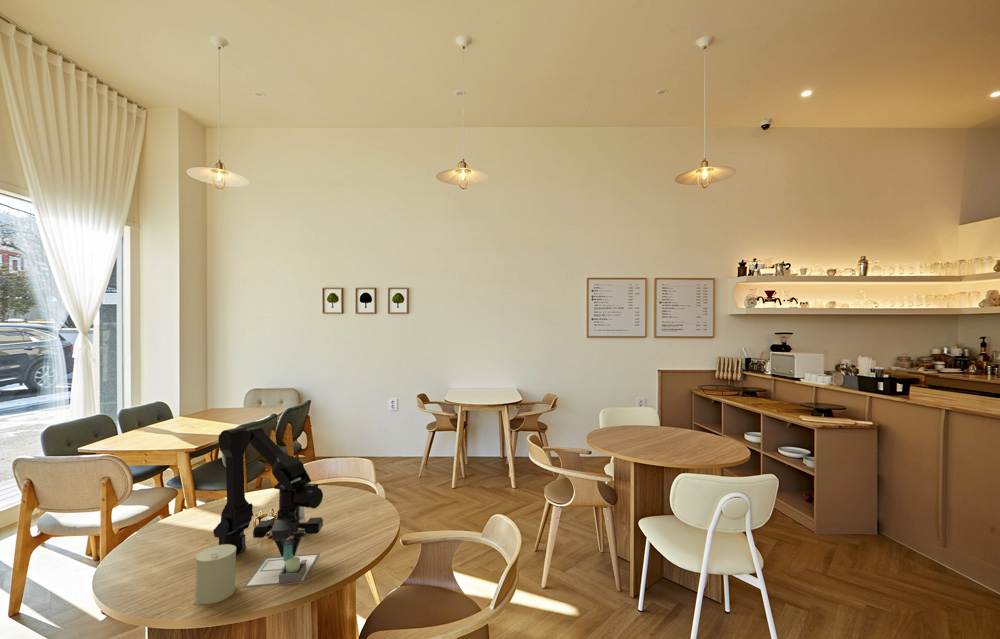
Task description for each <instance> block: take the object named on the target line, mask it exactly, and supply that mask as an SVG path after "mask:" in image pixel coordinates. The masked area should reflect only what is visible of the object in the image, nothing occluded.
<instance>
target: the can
mask: <svg viewBox="0 0 1000 639" xmlns="http://www.w3.org/2000/svg"><path fill="white" fill-rule="evenodd" d="M236 560H237V557H236V546H234V545H230V544H224V545H219V544H217V545H214V546H211V547H209V548H205V549H203V550H202V551H200V552H199V553H198V554H197V555H196V556H195V566H196V567H195V592H194V593H195V596H194V601H195V602H194V605H196V604H197V605H198V606H199V605H211V604H215V603H218V602H221V601H224V600H226V599H228V598H229V597H231V595H233V594H234V593H235V591H236V566H237V565H236ZM197 605H196V606H197Z"/></svg>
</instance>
